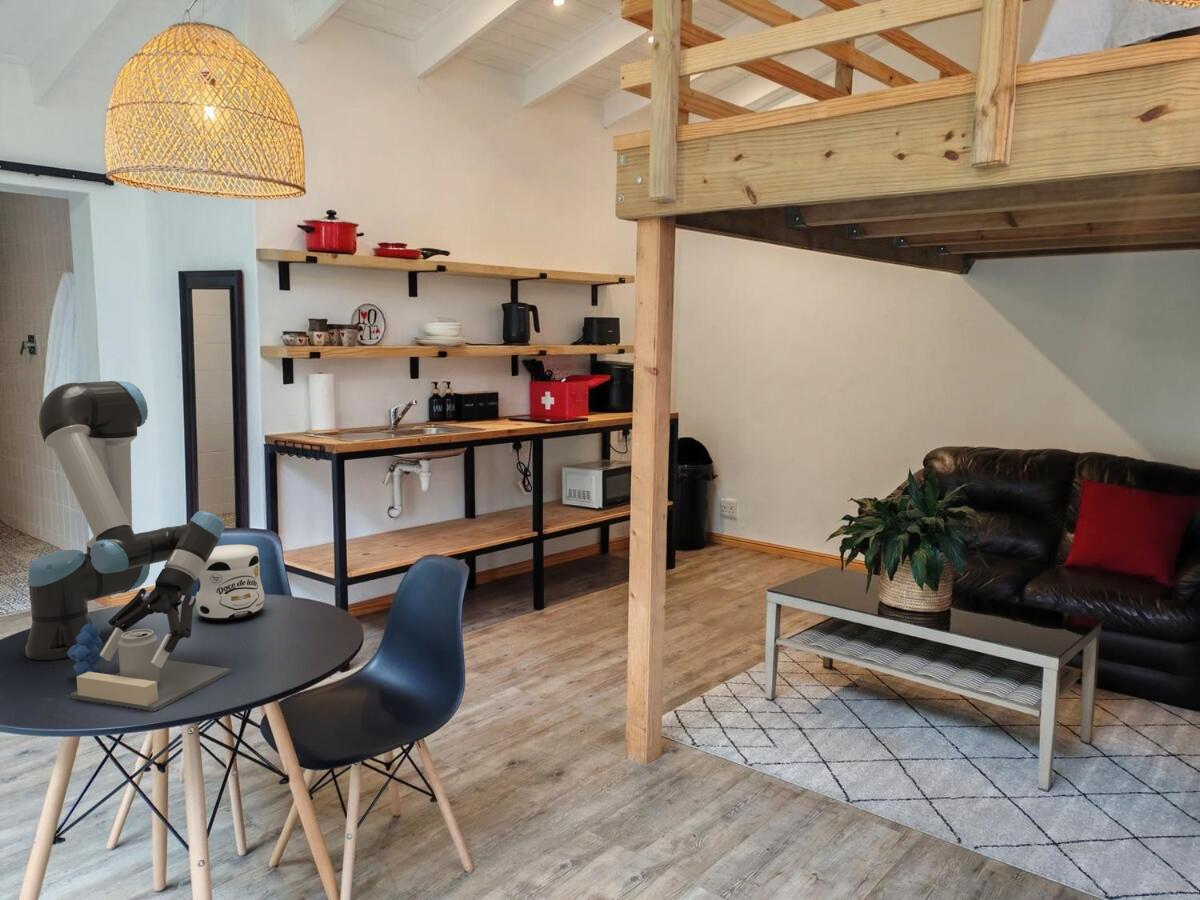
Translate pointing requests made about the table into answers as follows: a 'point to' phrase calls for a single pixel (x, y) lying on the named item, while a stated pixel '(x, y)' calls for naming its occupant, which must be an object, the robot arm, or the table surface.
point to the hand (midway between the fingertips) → (130, 661)
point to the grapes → (86, 649)
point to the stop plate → (173, 683)
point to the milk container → (230, 583)
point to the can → (138, 655)
